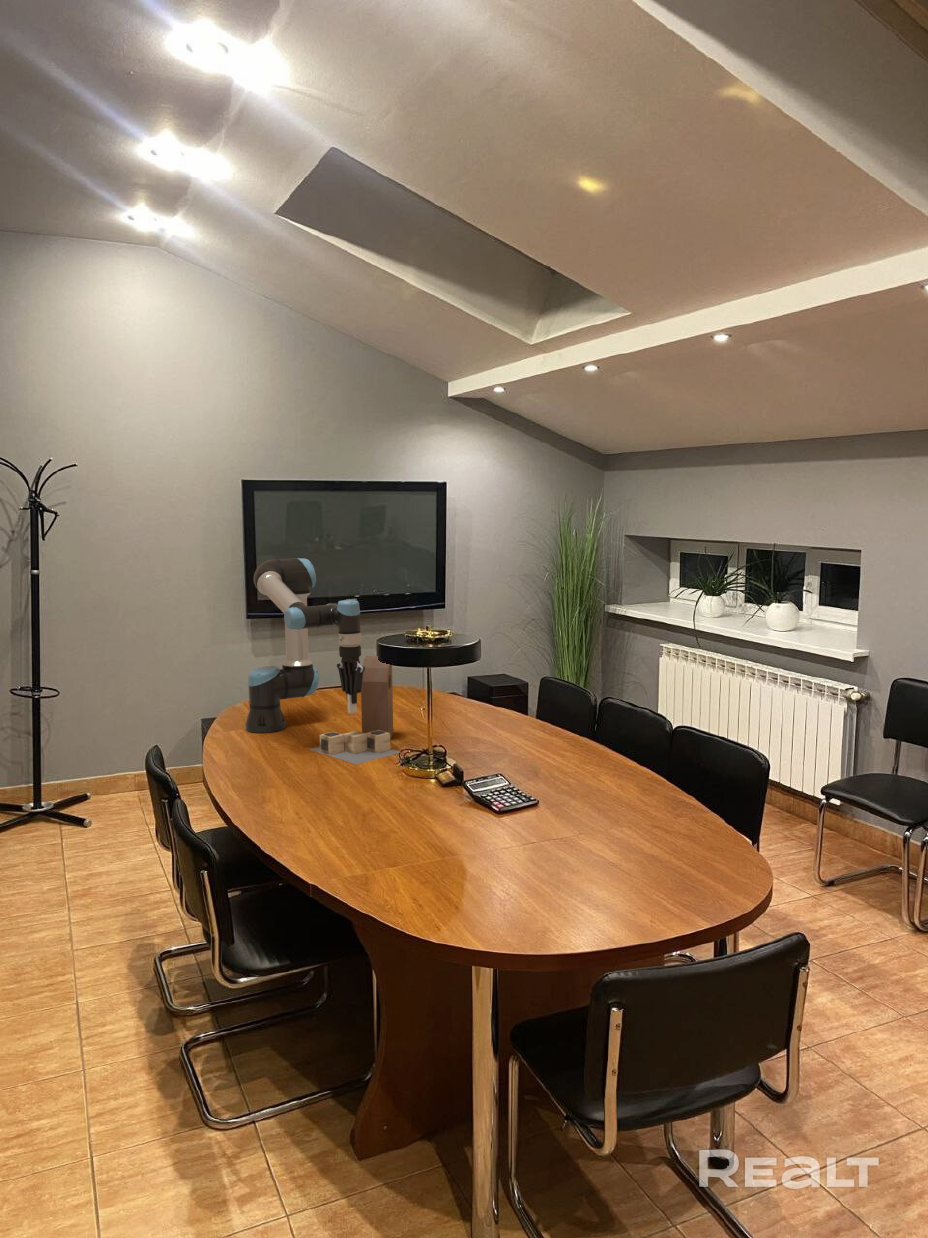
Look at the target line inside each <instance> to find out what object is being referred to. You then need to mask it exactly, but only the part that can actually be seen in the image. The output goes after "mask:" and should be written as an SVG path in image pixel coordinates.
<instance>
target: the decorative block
mask: <svg viewBox="0 0 928 1238" xmlns="http://www.w3.org/2000/svg"><path fill="white" fill-rule="evenodd" d="M378 656H379V655H378ZM378 656H377V655H367V656H366V655H365V657H364V659H363V662H362V665H361V666H362V667H363V666H364V667H365V670H364V672H363V679H362V687H361V692H360V698H361V699H360V700H361V702H360V704H361V706H360V707H361V711H360V712H361V732H362V733H369V732H373V731H377V730H380V731H384V732H388V733H390V739H392V737H393V736H394V718H393V717H394V701H393V697H394V696H393V664H392V665H390V664H386V663H382V662H380V661H379V660H378Z"/></svg>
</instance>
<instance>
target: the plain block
mask: <svg viewBox="0 0 928 1238" xmlns="http://www.w3.org/2000/svg"><path fill="white" fill-rule="evenodd" d="M342 734H343V735H344V751H345V752H349V753H352V754H356V753H360V752H364V751H367V734H366V733H362V731H358V730H355V731H354V730H353V731H350V732H346V733H342Z"/></svg>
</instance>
